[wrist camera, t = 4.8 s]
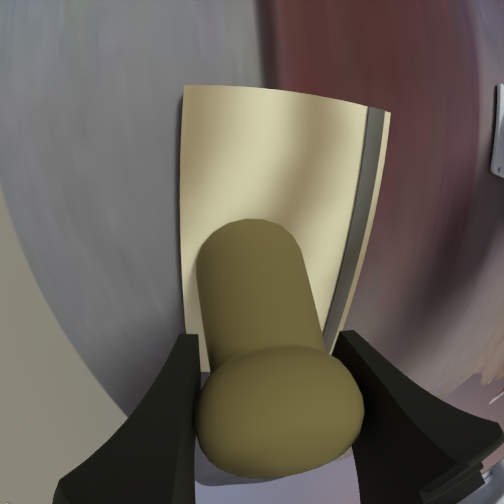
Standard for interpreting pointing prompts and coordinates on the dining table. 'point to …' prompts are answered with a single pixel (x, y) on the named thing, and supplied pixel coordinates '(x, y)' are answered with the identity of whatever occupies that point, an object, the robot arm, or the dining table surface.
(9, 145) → the dining table surface
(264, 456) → the cork
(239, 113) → the board
